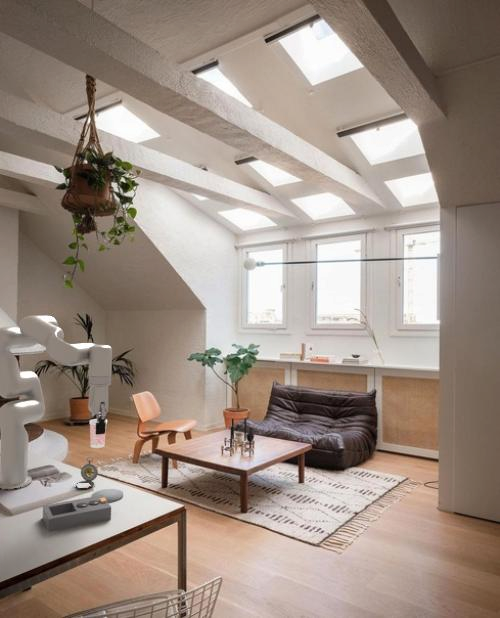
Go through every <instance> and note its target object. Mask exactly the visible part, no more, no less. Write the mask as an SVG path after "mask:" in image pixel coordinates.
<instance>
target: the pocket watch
mask: <svg viewBox="0 0 500 618" xmlns="http://www.w3.org/2000/svg"><path fill="white" fill-rule="evenodd" d="M88 459H89V460H88ZM86 461H87V462H88V463H86V464H84V465H83V466H82V467H81V470H80V476H81V477H82V479H83V480H81V481H79V482H77V483H76V484H78V483H89V484H90V485H91V486H89V487H91V488H92V487H94V486H95V482H94V481H95V479H96V478H97V477H98V474H99V471H98V468H97V467H96V465H95V464H93V463H92V462H93V461H94V458H93V457H87V458H86ZM89 487H88V488H87V489H90V488H89Z"/></svg>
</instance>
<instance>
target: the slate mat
mask: <svg viewBox="0 0 500 618" xmlns="http://www.w3.org/2000/svg"><path fill="white" fill-rule="evenodd" d="M123 492H124V491H122V490H121V489H116V488H106V489H100V490H97V491H95V492H93V493H92V494H91V497H94V496H99V495H103V497H104V498H105V499H106V500H107V502H108V503H109V504H110V503H114V502H117V501H119V500H121V499H123V497H124V493H123Z"/></svg>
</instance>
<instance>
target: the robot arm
mask: <svg viewBox="0 0 500 618" xmlns="http://www.w3.org/2000/svg"><path fill="white" fill-rule="evenodd" d="M64 337H65V334H64V331H63V329H62V328H61V327H59V324H58V321H57V319H55V317H53V316H51V315H46V314H45V315H43V314H42V315H28V316H25V317H23V318H22V319H21V320H20V321H19V324H18V326H4V327H0V397H2V398H3V399H13V398H18V397H22V398H21V399H18V400H12V401H9V402H7V403H4V404H3V405H2V406H0V488H1V489H0V490H5V489H8V490H15V489H14V488H17V489H21V488H24V487H27V486H29V485H30V484H32V480H33V479H32V477H31V476H30V475H28V468H29V467H28V464H29V461H28V460H29V433H28V431H27V430H26V428H25V425H26V424H29V423H34V422H36V421H37V422H38V421H39V420H41V419H42V418H43V417H44V415H45V412H46V405H45V399H44V394H43V393H44V392H43V390H42V385H41V384H42V383H41V381H40V378H39V377H38V375H37V374H36V373H35V372H34V371H31V370H22V371H21V370H20V365H19V362H18V359H17V357H16V356H15V355H14V353H13V352H12V351H11V350H13V349H23V348H25V349H26V348H30V347H34V346H36V345H41V346H42V347H44V348H45V349H46V352H47V354H48V355H49V357H50V358H51V359H53V360H55V361H56V362H58V363H60V364H62V365H65V366H69V367H75V366H81V365H89V366H88V386H89V391H88V392H89V394H88V405H87V409H88V411H89V412H90V413H91V419H90V420H92V419H97V423H96V435H98V434H105V428H106V429H107V424H106V418H107V417H106V416H107V414H108V411H109V386H110V385H112V365H113V364H112V362H113V348H112V346H110V345H108V344H107V345H106V344H97V343H93V342H82V343H81V342H80V343H79V342H78V343H68V342H66V341H65V340H64ZM98 412H100V413H99V414H98ZM105 435H106V434H105ZM20 487H21V488H20Z"/></svg>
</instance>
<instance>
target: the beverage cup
mask: <svg viewBox="0 0 500 618" xmlns="http://www.w3.org/2000/svg"><path fill="white" fill-rule="evenodd" d="M99 413H100V412H98V414H99ZM91 419H92V418H91ZM91 419H90V420H89V423H88V424H89V430H90V431H89V432H90V435H89V436H90V448H92V449H100V448H104V447H105V443H106V432H107V427H106V428H105V434H98V435H96V423H97V419H92V420H91ZM107 424H108V419H106V425H107Z"/></svg>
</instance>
